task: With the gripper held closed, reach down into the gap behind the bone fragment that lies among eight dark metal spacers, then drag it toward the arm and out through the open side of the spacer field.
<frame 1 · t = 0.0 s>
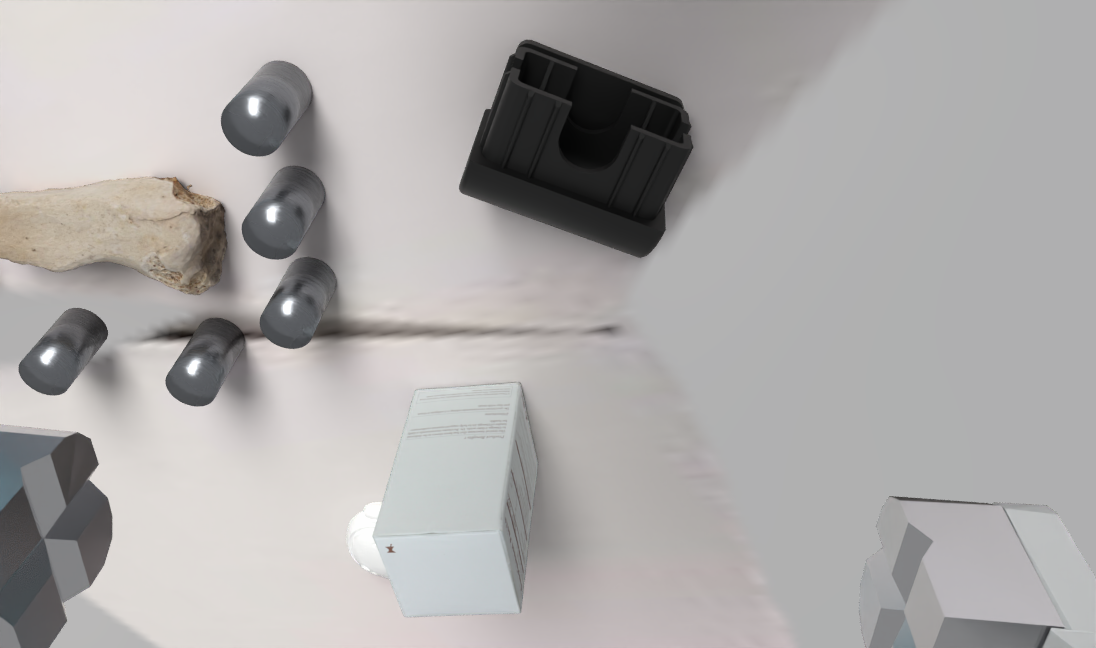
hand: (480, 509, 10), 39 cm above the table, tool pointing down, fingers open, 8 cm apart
spacer field: (122, 223, 54), on the table
bone fragment: (125, 219, 55), on the table
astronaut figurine: (429, 534, 70), on the table
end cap: (580, 127, 49), on the table
supplement box: (479, 423, 62), on the table
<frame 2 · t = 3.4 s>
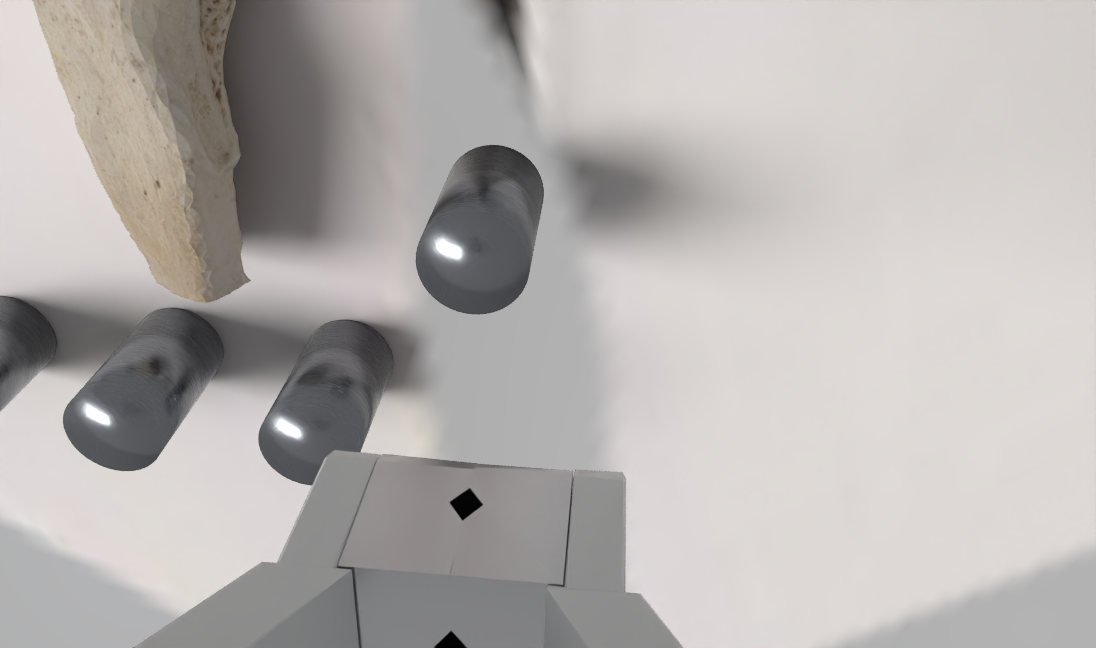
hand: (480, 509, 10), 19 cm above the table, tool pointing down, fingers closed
spacer field: (219, 28, 26), on the table
bone fragment: (201, 25, 27), on the table
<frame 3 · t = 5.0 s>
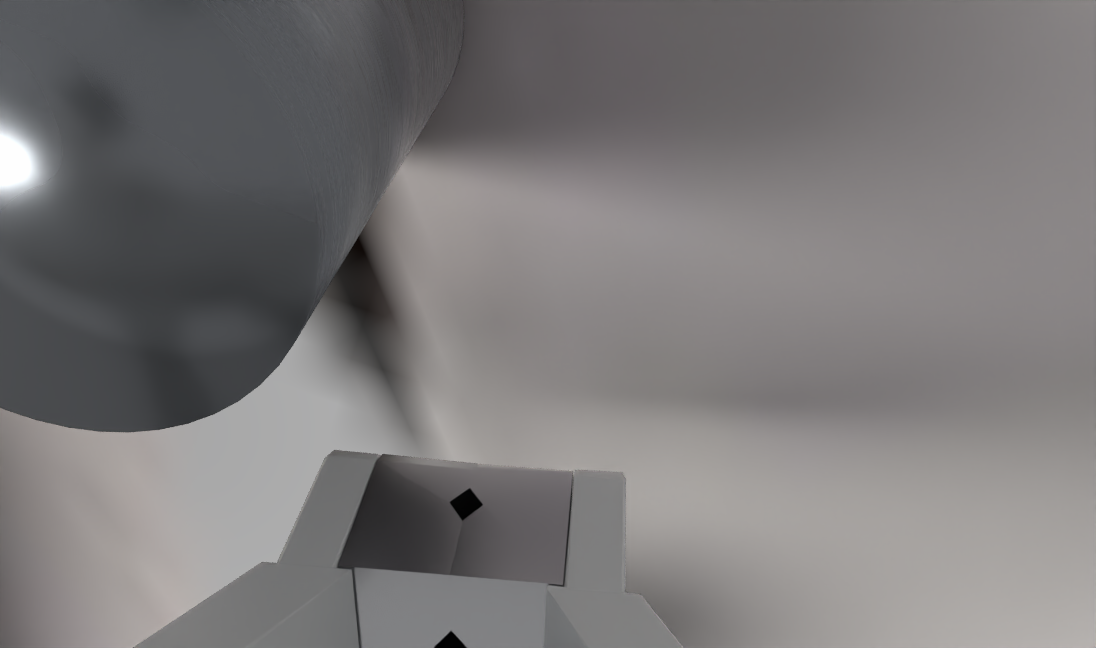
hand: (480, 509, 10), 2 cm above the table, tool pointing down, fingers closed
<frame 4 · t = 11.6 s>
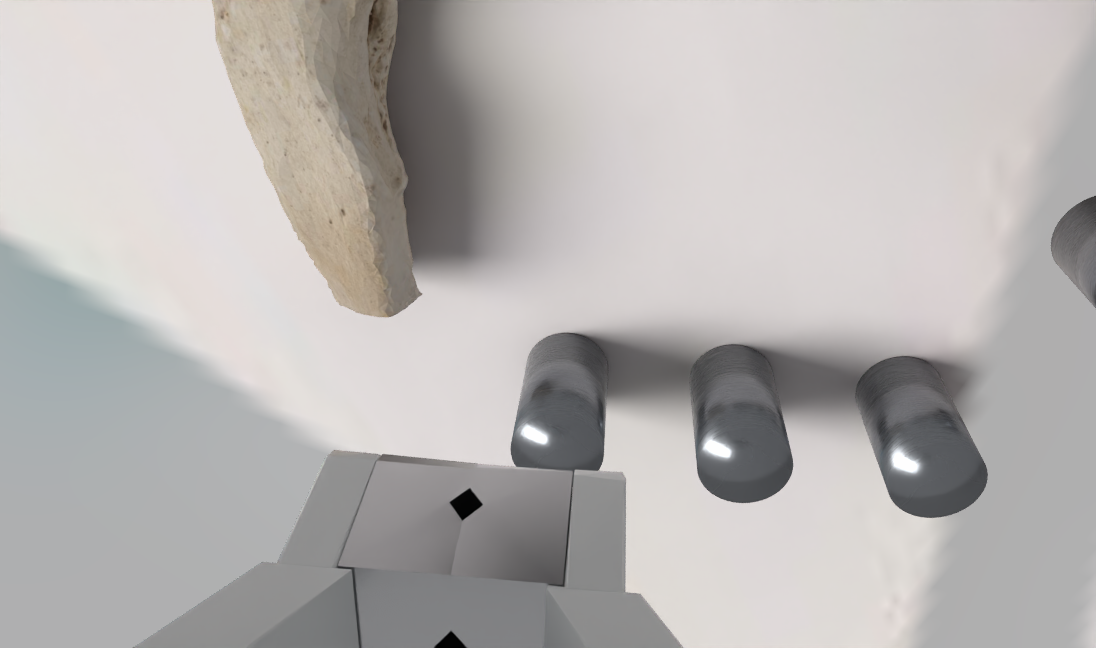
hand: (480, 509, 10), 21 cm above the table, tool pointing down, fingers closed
spacer field: (878, 84, 28), on the table
bone fragment: (360, 65, 29), on the table
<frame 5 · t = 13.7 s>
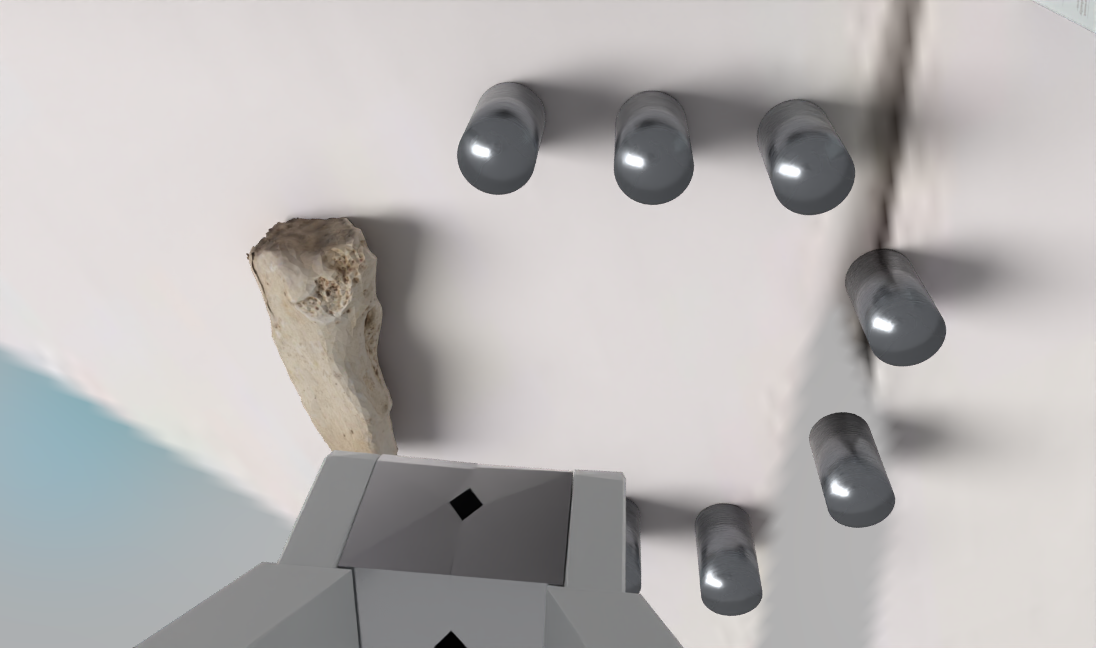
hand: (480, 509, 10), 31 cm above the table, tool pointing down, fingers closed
spacer field: (691, 349, 45), on the table
bone fragment: (360, 328, 46), on the table
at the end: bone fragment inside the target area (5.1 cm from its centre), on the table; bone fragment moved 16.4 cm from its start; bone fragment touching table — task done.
